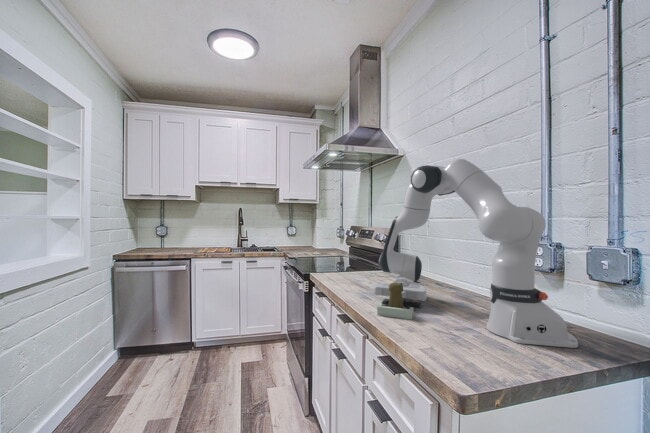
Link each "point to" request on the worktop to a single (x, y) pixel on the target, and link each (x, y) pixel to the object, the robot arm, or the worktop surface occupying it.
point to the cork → (395, 295)
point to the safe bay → (395, 312)
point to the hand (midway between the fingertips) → (397, 296)
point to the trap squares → (405, 303)
